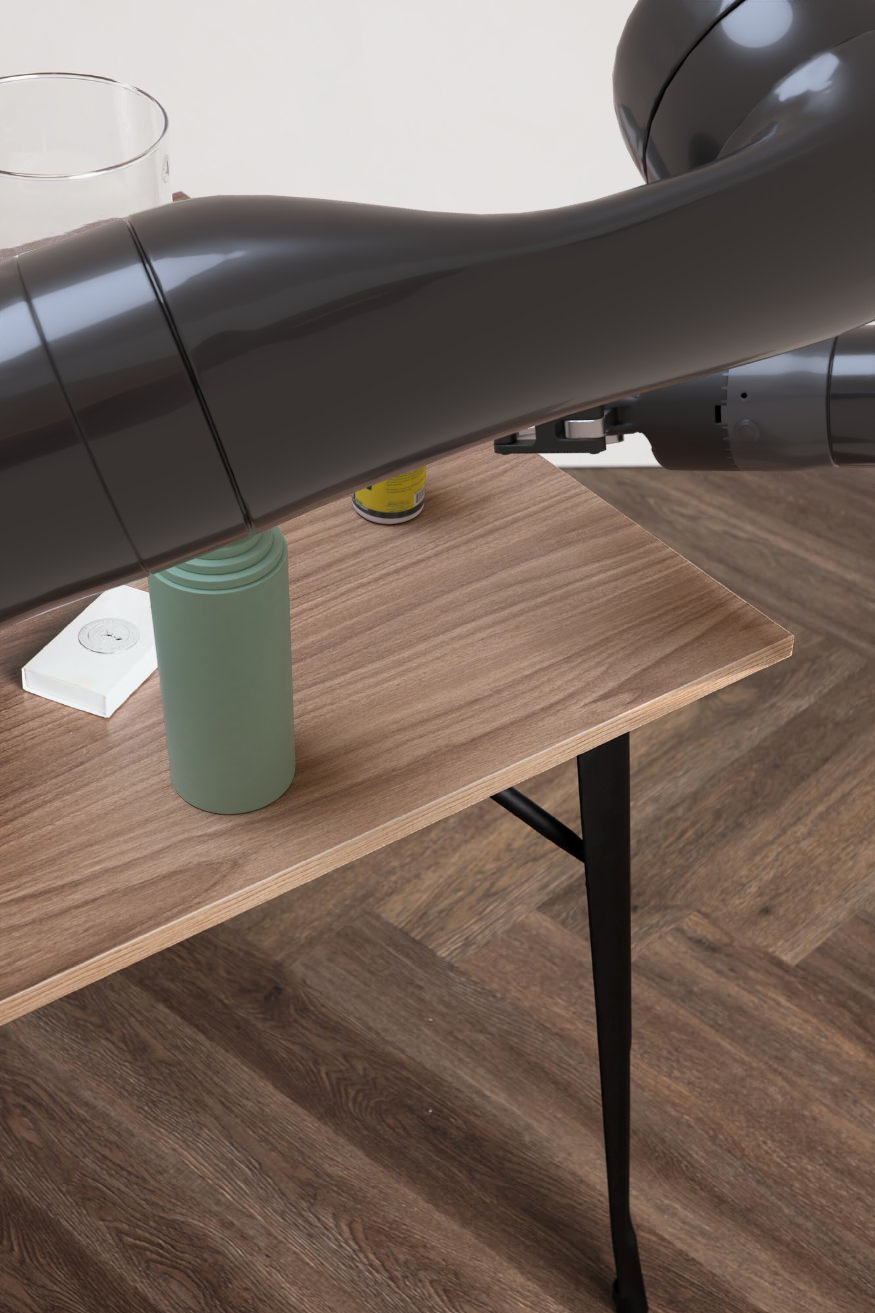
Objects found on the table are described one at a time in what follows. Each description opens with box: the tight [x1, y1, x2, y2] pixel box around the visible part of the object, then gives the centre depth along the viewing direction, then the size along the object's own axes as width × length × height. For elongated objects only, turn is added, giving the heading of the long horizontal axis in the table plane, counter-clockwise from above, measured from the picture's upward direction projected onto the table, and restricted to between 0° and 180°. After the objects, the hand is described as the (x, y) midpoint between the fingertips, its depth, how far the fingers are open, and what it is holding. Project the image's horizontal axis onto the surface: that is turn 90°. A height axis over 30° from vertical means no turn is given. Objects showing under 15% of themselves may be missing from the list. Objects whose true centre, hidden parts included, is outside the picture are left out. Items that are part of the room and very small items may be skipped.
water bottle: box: [146, 525, 296, 815], centre depth 67 cm, size 6×6×19 cm
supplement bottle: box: [350, 465, 427, 525], centre depth 89 cm, size 5×5×8 cm
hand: (468, 401), depth 80 cm, fingers open, 8 cm apart
